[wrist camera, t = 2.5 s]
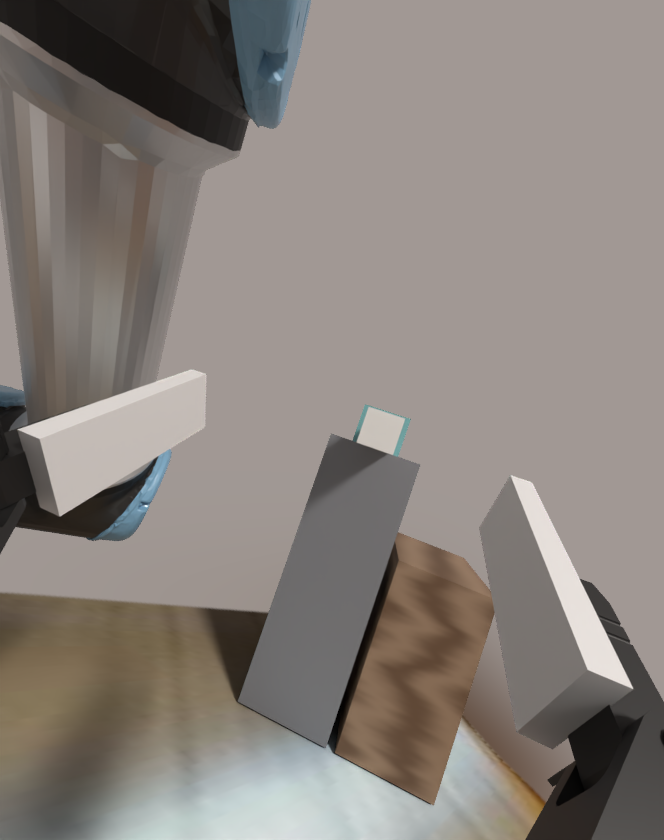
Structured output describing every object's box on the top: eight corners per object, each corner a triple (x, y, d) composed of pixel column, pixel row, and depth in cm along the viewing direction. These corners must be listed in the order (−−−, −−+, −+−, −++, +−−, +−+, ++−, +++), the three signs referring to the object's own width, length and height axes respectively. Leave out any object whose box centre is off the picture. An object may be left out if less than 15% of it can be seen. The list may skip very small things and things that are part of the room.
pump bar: (338, 436, 25) (358, 377, 25) (355, 442, 45) (366, 410, 46) (411, 461, 24) (432, 400, 24) (394, 455, 44) (405, 423, 45)
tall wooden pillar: (335, 753, 31) (399, 560, 32) (346, 668, 43) (392, 530, 44) (433, 805, 29) (498, 600, 30) (417, 702, 41) (463, 558, 42)
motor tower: (237, 701, 33) (331, 433, 34) (274, 634, 44) (342, 437, 46) (325, 748, 31) (420, 464, 32) (339, 665, 43) (408, 460, 44)
